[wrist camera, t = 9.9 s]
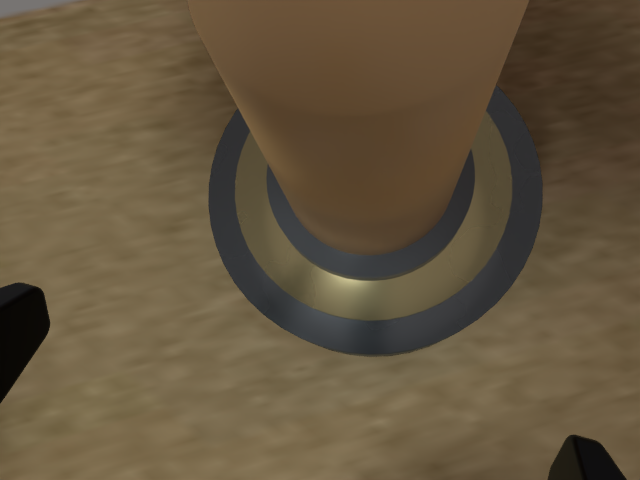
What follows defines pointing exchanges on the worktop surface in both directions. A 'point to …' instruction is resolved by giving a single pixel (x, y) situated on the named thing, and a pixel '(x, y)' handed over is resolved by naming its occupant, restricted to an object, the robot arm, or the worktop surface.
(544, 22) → the worktop surface
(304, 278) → the grey round disc
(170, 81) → the worktop surface
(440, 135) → the tan rounded stopper
